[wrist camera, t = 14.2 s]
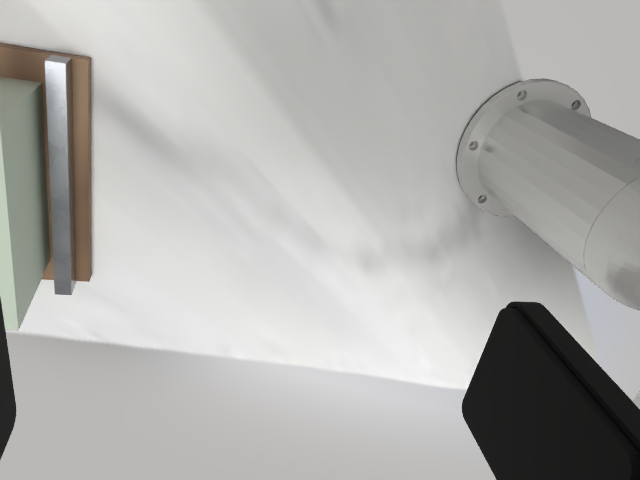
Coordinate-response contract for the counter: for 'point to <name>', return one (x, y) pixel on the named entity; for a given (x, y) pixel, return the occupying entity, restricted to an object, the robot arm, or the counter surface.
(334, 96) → the counter surface
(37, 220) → the pale green block
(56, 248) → the door track
